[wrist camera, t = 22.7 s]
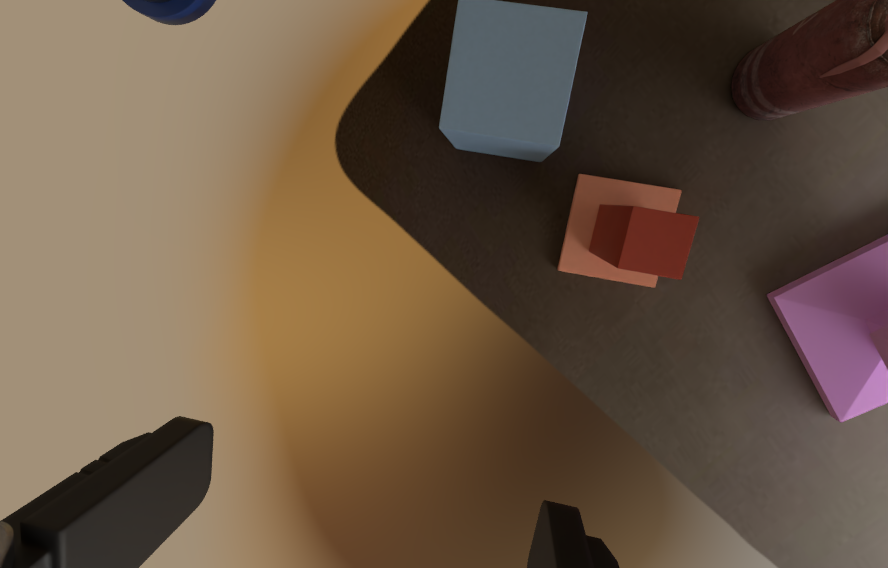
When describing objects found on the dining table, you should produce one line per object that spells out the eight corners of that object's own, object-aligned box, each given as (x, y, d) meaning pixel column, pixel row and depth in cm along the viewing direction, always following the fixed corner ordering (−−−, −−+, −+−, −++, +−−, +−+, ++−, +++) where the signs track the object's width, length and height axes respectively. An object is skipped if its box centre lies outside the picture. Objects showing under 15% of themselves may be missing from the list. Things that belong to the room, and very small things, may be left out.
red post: (588, 251, 40) (617, 268, 30) (599, 204, 39) (633, 205, 29) (636, 260, 40) (681, 280, 30) (649, 212, 39) (699, 217, 29)
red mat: (557, 269, 41) (557, 270, 41) (578, 174, 39) (579, 173, 39) (652, 286, 40) (655, 287, 40) (679, 190, 39) (682, 189, 38)
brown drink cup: (709, 92, 37) (833, 29, 23) (770, 27, 35) (940, -80, 22) (761, 139, 37) (914, 104, 23) (823, 77, 35) (1026, 1, 22)
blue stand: (455, 148, 40) (438, 128, 29) (470, 56, 39) (458, -5, 27) (541, 162, 40) (559, 147, 28) (560, 69, 38) (587, 11, 26)
